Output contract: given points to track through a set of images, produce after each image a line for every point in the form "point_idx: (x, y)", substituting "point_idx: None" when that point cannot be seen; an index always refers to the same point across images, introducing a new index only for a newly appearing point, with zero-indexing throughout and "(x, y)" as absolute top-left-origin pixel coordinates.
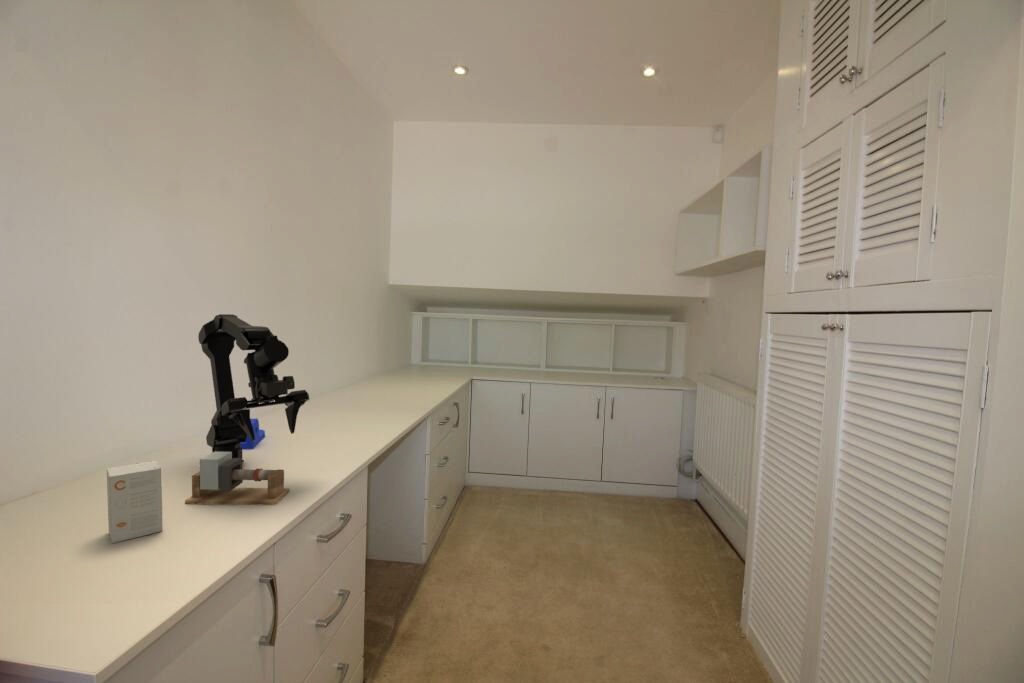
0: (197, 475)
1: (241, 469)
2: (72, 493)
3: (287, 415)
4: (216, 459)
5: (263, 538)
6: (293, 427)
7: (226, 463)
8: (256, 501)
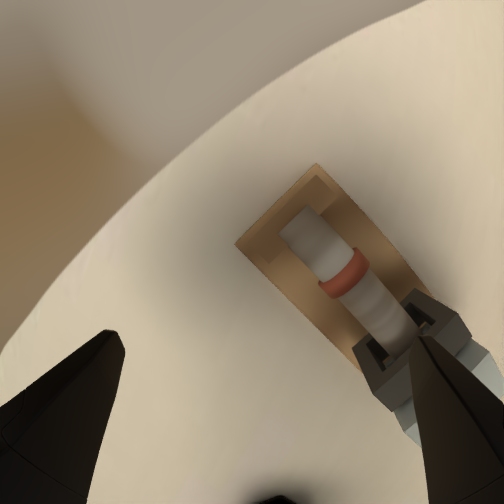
0: None
1: (391, 330)
2: None
3: (77, 489)
4: (490, 355)
5: (393, 17)
6: (87, 351)
7: None
8: (357, 206)
